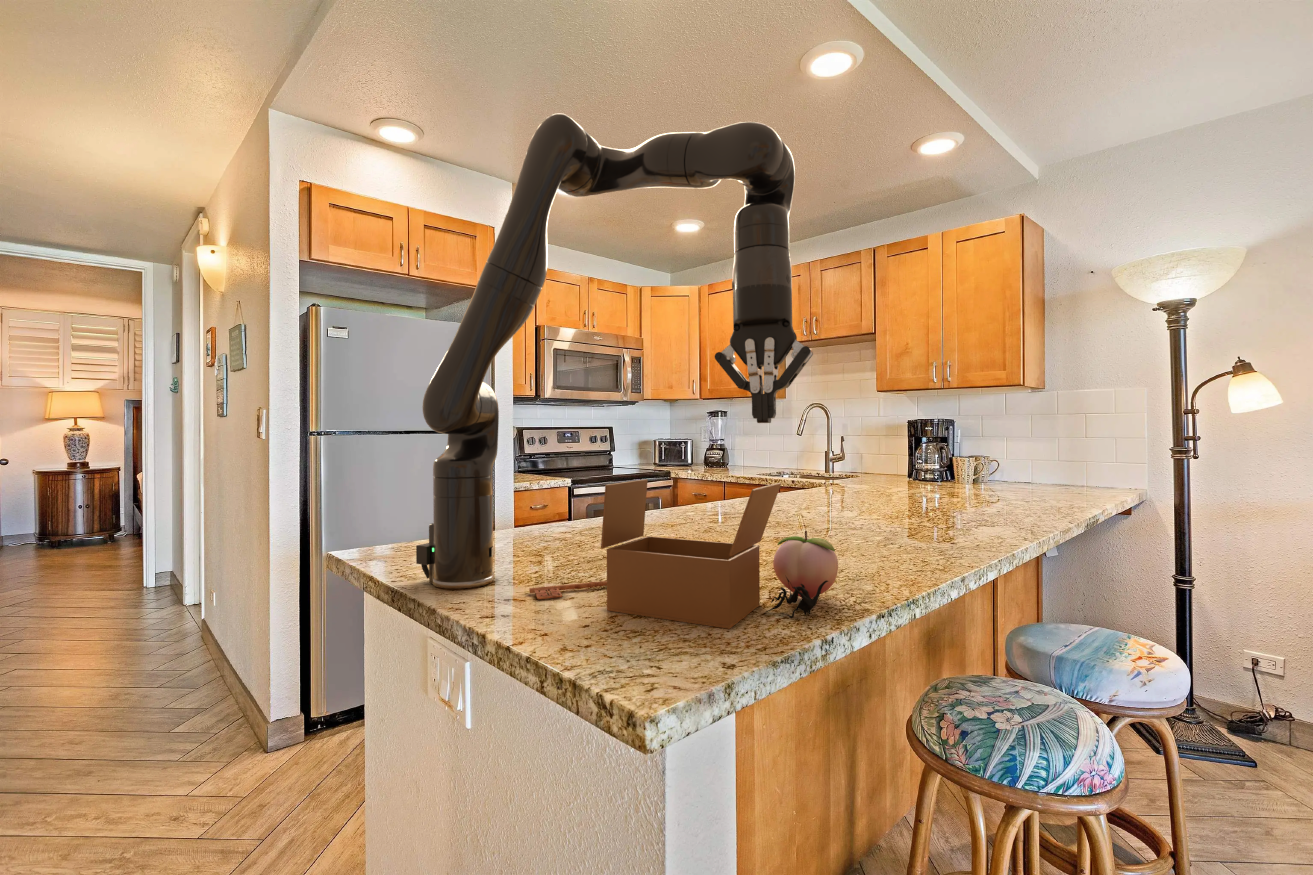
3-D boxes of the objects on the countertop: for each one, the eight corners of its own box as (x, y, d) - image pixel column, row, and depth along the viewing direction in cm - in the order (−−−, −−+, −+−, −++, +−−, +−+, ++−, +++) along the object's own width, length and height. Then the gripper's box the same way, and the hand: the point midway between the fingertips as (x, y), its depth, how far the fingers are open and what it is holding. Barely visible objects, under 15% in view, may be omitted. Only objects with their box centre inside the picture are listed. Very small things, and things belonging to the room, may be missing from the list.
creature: (753, 620, 83) (794, 621, 77) (747, 579, 84) (787, 577, 78) (795, 611, 87) (838, 611, 81) (789, 572, 88) (831, 570, 82)
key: (533, 602, 89) (632, 592, 94) (533, 596, 89) (632, 586, 94) (527, 589, 95) (621, 580, 100) (527, 583, 95) (621, 574, 100)
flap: (758, 540, 86) (760, 541, 86) (728, 555, 76) (731, 556, 76) (779, 482, 85) (781, 483, 85) (751, 489, 75) (754, 490, 74)
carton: (759, 605, 86) (759, 483, 86) (729, 628, 76) (729, 489, 76) (642, 590, 95) (641, 479, 95) (600, 609, 85) (600, 484, 84)
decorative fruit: (848, 597, 90) (848, 529, 90) (828, 611, 83) (828, 537, 83) (788, 588, 96) (787, 524, 96) (764, 600, 89) (764, 531, 89)
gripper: (818, 289, 81) (820, 422, 81) (720, 299, 86) (722, 424, 86) (810, 276, 74) (812, 421, 74) (704, 287, 79) (706, 423, 79)
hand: (763, 422), depth 80 cm, fingers closed
